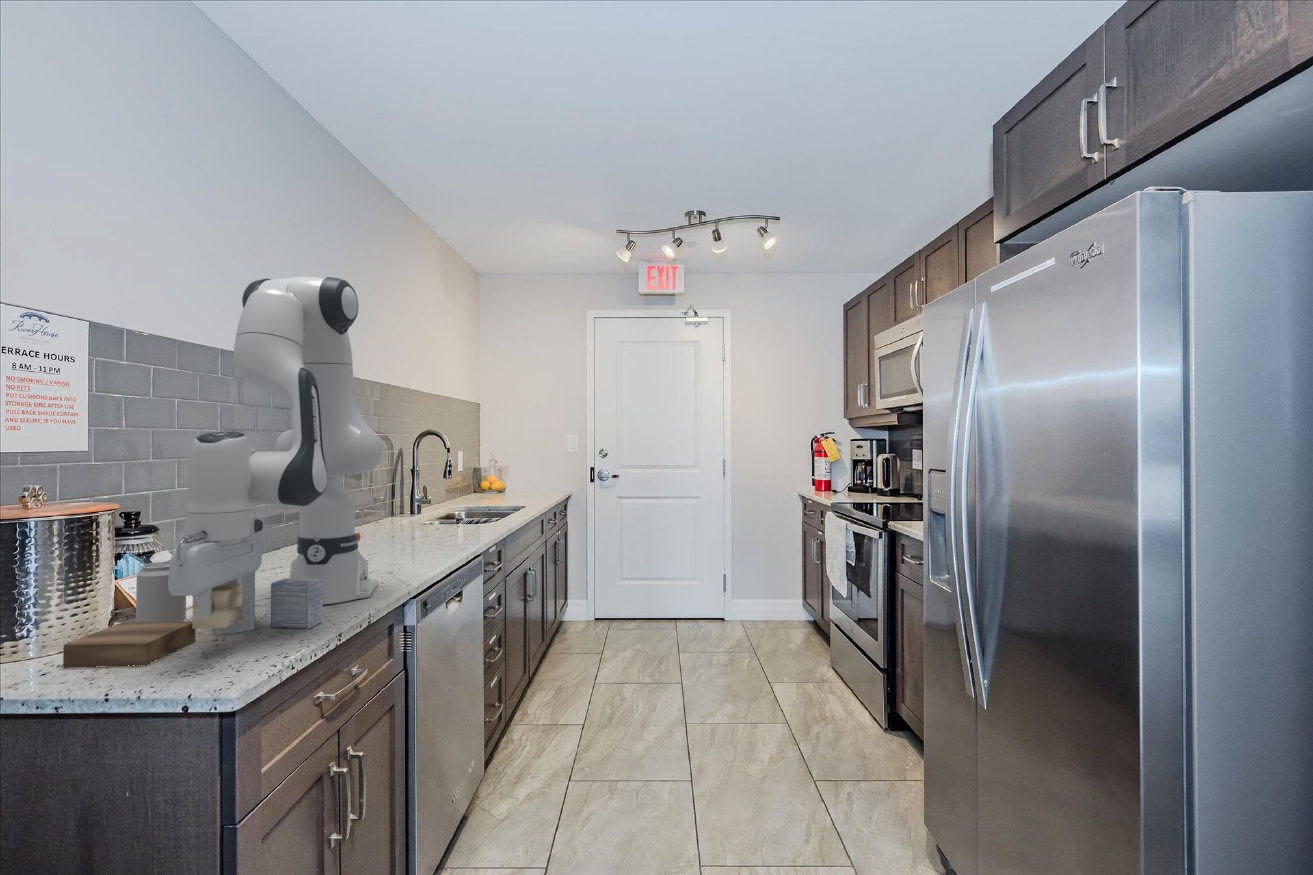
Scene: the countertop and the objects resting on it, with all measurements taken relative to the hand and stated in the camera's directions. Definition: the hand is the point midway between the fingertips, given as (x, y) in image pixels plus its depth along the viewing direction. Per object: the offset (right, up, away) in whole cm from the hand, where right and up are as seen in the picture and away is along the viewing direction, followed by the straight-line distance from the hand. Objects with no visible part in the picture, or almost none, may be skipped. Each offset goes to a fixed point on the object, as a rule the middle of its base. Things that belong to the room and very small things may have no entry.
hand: (217, 610), depth 104 cm
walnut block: (-13, -7, -1) cm, 15 cm away
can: (-21, -7, +14) cm, 26 cm away
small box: (-7, -7, +13) cm, 17 cm away
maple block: (0, -2, 0) cm, 2 cm away
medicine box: (+4, -8, +16) cm, 18 cm away
